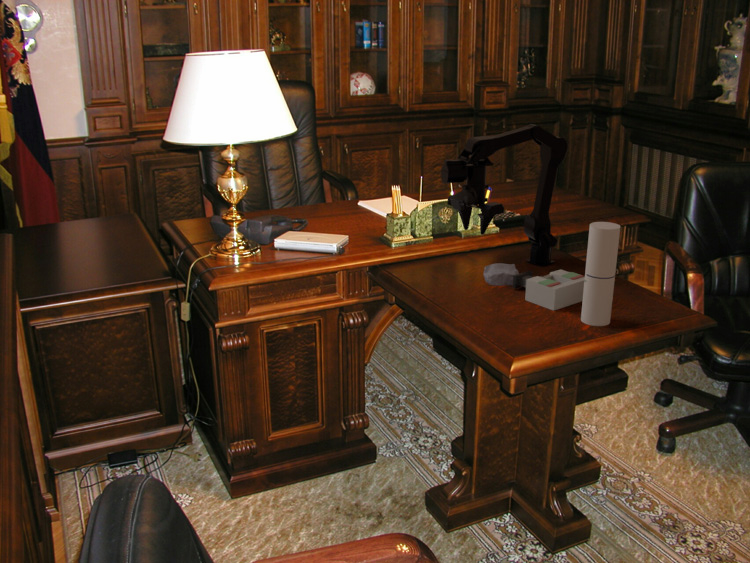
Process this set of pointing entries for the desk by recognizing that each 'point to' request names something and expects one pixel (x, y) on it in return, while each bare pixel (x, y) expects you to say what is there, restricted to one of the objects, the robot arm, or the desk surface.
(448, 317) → the desk surface
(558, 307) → the block
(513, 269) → the stone block
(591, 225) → the cylindrical container
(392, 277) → the desk surface
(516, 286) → the black rectangular block
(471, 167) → the robot arm
